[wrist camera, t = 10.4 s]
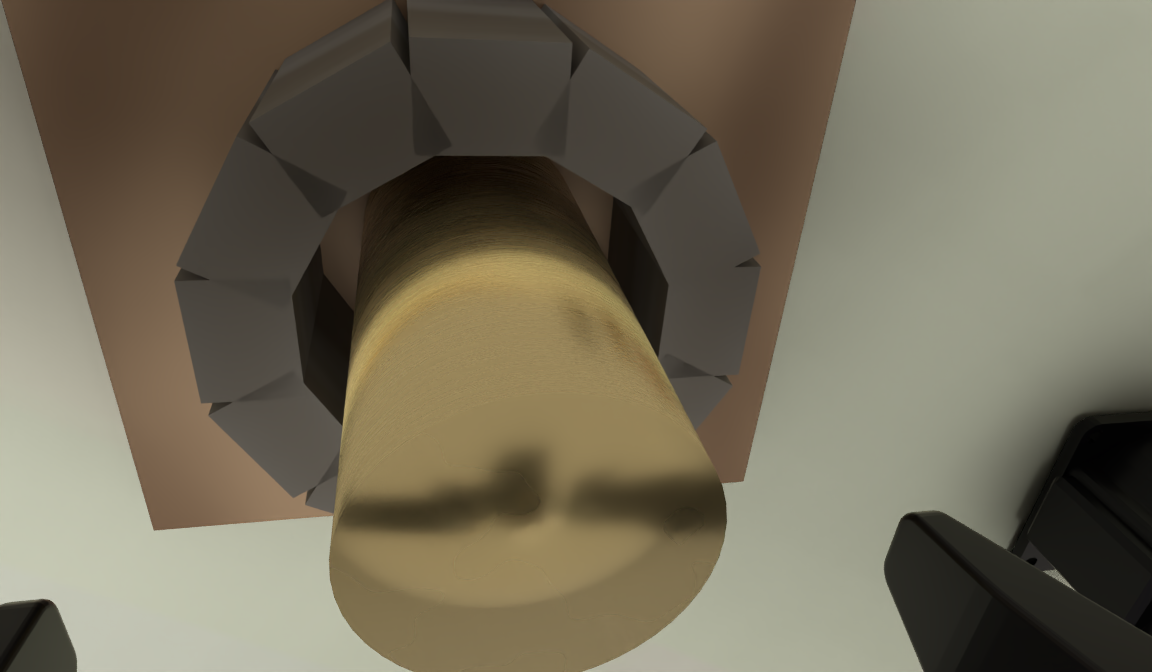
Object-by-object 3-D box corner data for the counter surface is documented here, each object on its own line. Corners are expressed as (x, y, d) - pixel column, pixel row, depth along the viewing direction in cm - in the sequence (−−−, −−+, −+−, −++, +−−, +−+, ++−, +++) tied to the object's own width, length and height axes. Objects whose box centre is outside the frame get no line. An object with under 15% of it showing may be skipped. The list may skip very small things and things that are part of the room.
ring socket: (865, -160, 15) (1051, -166, 10) (730, 457, 22) (806, 595, 18) (-39, -246, 12) (-281, -303, 7) (164, 501, 19) (99, 678, 15)
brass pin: (584, 129, 15) (758, 383, 8) (569, 320, 18) (696, 662, 10) (355, 126, 15) (306, 409, 7) (371, 328, 17) (346, 707, 9)
